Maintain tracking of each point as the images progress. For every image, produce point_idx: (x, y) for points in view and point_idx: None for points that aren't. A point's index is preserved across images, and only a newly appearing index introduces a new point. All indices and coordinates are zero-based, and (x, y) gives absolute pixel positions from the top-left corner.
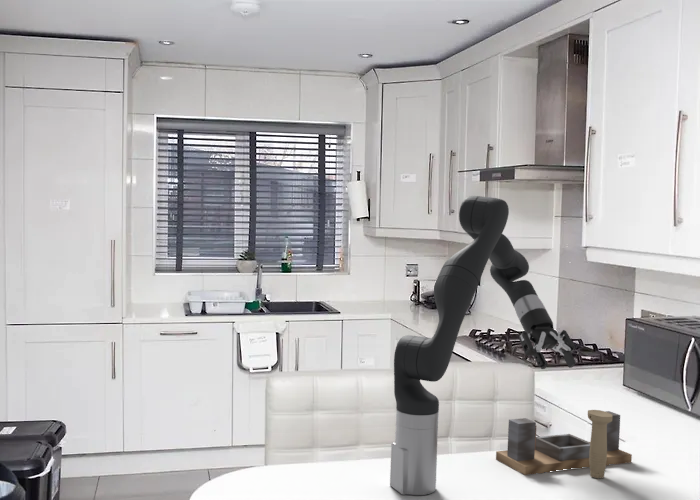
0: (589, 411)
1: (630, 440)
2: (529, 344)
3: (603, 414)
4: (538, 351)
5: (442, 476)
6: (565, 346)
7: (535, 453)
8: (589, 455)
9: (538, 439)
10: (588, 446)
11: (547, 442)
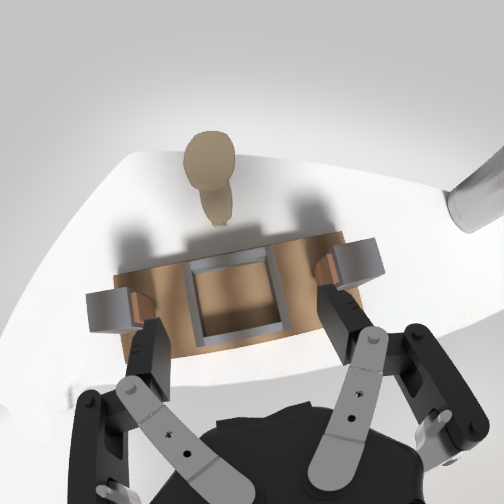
0: (225, 171)
1: (59, 388)
2: (434, 353)
3: (206, 148)
4: (373, 328)
5: (440, 244)
6: (143, 403)
7: (296, 300)
8: (231, 206)
9: (288, 313)
10: (201, 259)
11: (279, 288)
